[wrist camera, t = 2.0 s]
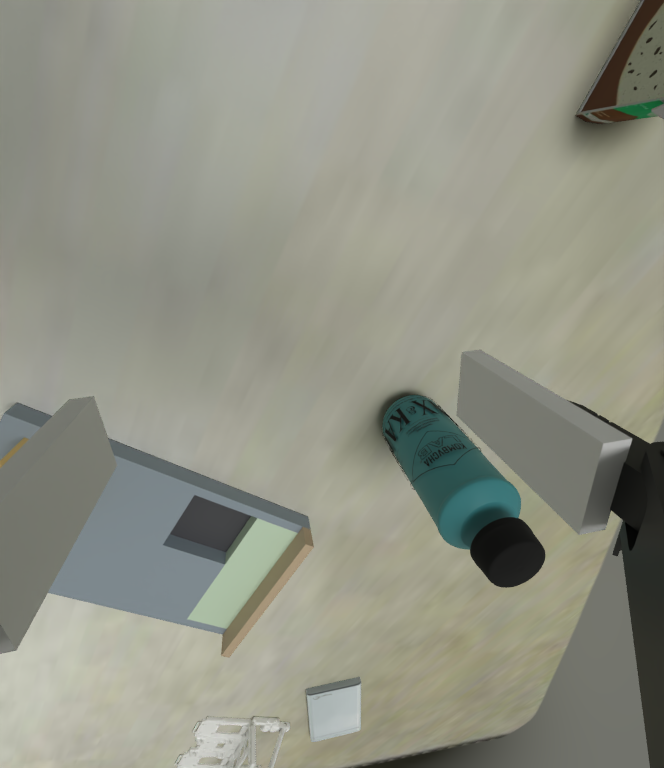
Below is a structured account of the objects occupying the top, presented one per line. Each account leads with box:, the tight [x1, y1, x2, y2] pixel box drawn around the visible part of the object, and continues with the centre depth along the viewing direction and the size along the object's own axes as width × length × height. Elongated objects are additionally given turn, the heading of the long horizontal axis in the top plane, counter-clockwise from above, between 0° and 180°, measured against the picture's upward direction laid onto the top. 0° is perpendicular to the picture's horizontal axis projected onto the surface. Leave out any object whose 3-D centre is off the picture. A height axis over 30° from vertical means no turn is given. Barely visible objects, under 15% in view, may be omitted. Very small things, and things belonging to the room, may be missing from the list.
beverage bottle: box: [382, 395, 545, 587], centre depth 32 cm, size 6×7×20 cm
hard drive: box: [306, 677, 361, 742], centre depth 60 cm, size 2×8×12 cm
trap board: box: [0, 403, 314, 657], centre depth 39 cm, size 30×18×4 cm, turn 56°
